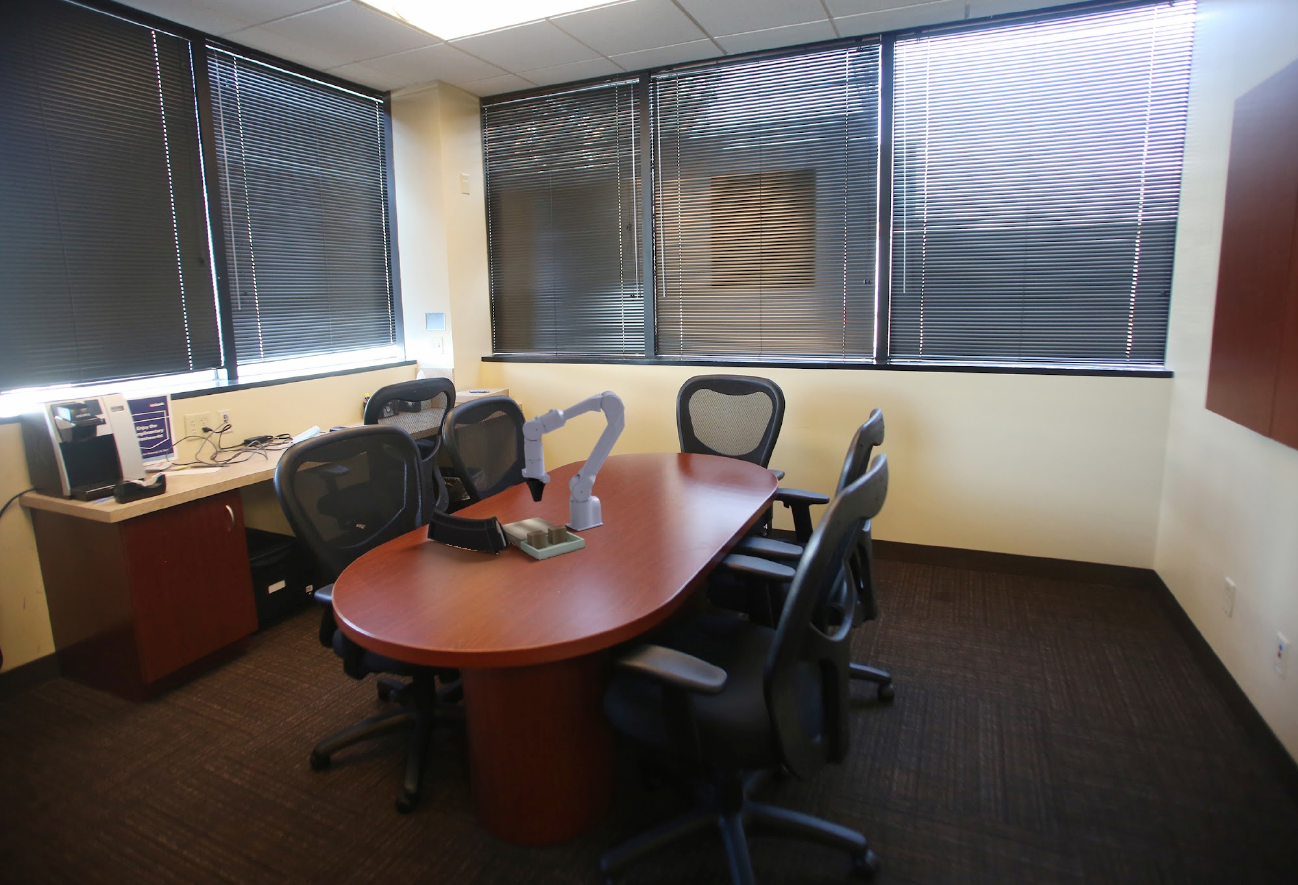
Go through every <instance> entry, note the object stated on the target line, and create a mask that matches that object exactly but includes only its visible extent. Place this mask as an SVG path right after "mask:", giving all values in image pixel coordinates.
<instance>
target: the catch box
mask: <svg viewBox="0 0 1298 885" xmlns="http://www.w3.org/2000/svg"><path fill="white" fill-rule="evenodd" d="M566 532H567V542H564V543H560V544H557V545H552V544H550V543H549V539H548V535H546V544H547V547H546V548H543V549H539V550H537V549H535V548H533V547H531V546H530V545H528V542H527V540H526V541H522V542H520V546H521V549H520V551H521V550H523V551H524V553H525V552H526V553H525V554H527V553H528V554H527V555H529V554H530V555H532V556H533V557H532V556H531V557H532V558H534V557H535V558H534V559H536V560H538V559H539V560H538V561H542V560H541V559H543V560H546V559H549V558H548V557H550V558H553V557H555V556H559V555H564V554H567V553H570V552H574V551H579V550H581V549H584V548H586V541H585V539H584V538H582V537H580V536H578V535H576V534H574V533H573V532H570V531H568V530H566ZM523 551H522V552H523ZM563 553H564V554H563ZM530 555H529V556H530Z"/></svg>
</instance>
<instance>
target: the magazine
mask: <svg viewBox="0 0 1298 885" xmlns="http://www.w3.org/2000/svg"><path fill="white" fill-rule="evenodd" d="M502 525H503V524H502V523H501V522H500V521H499V520H498V517H497V516H496V515H494V516H492V517H490V518H489V517H487V518H468V517H467V518H466V517H460V516H456V515H452V514H448V513H446V512H443V511H440V510H439V509H437V508H434V509H432V510H431V514H430V516H429V519H428V528H427V536H426V537H427V538H426V539H428V540H432V541H433V542H437V543H441V544H442V543H443V544H442V545H445V544H449V545H452V546H458V547H461V548H467V549H471V550H477V551H476V552H480V551H486V552H487V553H494V554H496V553H498V552H499V553H500V552H501V551H503V552H504V551H505V550H508V548H509V547H510V546H511V543H509V540H508V537H507V533H506V531H505V530H504V529H503V527H502ZM486 552H485V553H486Z"/></svg>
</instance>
